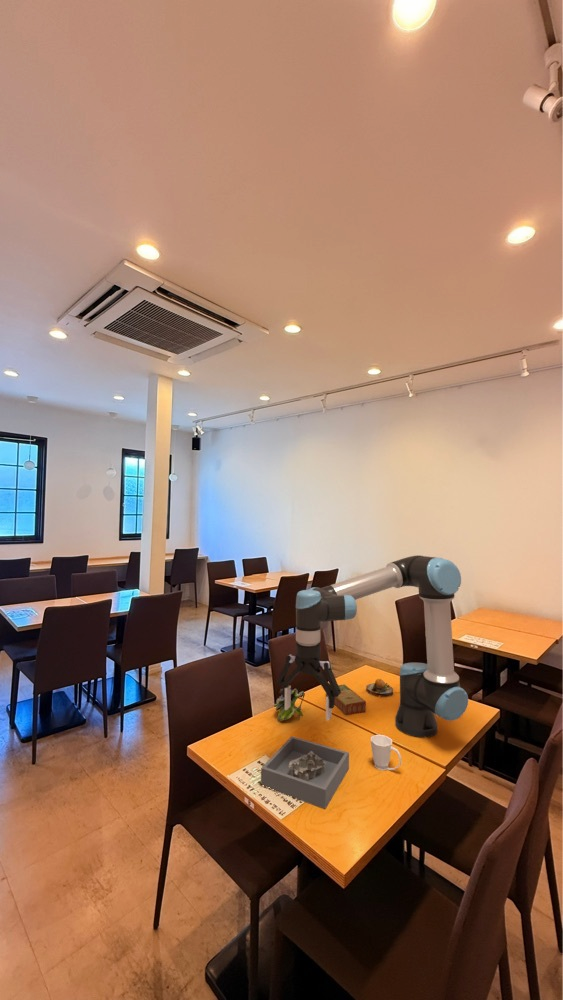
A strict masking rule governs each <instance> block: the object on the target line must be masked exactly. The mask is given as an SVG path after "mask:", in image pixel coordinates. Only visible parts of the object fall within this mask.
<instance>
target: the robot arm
mask: <svg viewBox="0 0 563 1000" xmlns="http://www.w3.org/2000/svg"><path fill="white" fill-rule="evenodd" d="M461 585H462V576H461V572H460V569H459V568H458V566H457V565H456V564H455V563H454V562H452V561H451V560H449V559H445V558H442V557H436V556H426V555H419V554H418V555H412V556H407V557H403V558H401V559H398V560H395V561H392V562H389V563H387V564H386V566H385V567H382V568H379V569H377V570H376V569H375V570H373V571H370V572H366V573H364V574H360V575H358V576H355V577H351V578H348V579H345V580H343V581H339V582H337V583H333V584H330V585H326V586H324V587H311V588H309V589H302V590H300V591H298V592H297V593H296V597H295V623H296V624H295V641H296V643H295V655H293V654H292V653H290V654H289V655H287V656H286V658H285V664H284V665H283V667H282V669H281V671H280V673H279V676H278V678H277V680H276V684H277V685H280V686H281V689H282V694H281V696H283V697H284V698H285V710H288V709H289V708H290V707H291V690H292V689H291V688H292V686H291V684H290V683H291V682H292V681H293V679H294V678H295V677H297V675H298V674H299V673H300V672H301V674H302V675H303V674H304V675H305V674H307V675H309V676H312V675H313V677H314V678H315V679H316V680H317V681H318V683H319V685H320V686H321V688H322V689H323V690H324V692H325V694H326V693H327V695H328V696H327V697H326V696H325V721H328V722H329V720H330V719H332V711H333V709H334V707H335V697H338V696H339V695H340V693H341V691H340V688H339V686H338V685H339V684H338V681H337V679H336V676H335V674H334V672H333V670H332V665H331V661H330V660H326V661H322V660H321V643H320V642H321V625H322V624H321V623H322V622H335V621H336V622H337V621H346V620H351V619H354V618H355V617H356V615H357V612H358V606H357V605H358V604H357V601H356V600H358V599H359V600H360V599H362V598H365V597H368V596H370V595H374V594H377V593H380V592H382V591H385V590H388V589H391V588H395V589H400V588H403V587H414V588H418V597H419V599H421V601H423V611H424V612H423V613H424V626H425V627H424V628H425V631H424V632H425V642H426V643H425V644H426V645H425V647H426V660H427V661H426V663H424V662H407V663H406V662H405V663H403V664H401V666H400V669H399V705H398V709H397V711H396V714H395V717H394V718H395V719H394V720H395V723H394V724H395V725H394V726H395V727H396V728H397V729H398V730H399V731H400V732H402V733H403V734H405V735H408V736H412V737H416V738H431V737H434V736H435V735H437V734H438V730H439V729H438V728H439V727H438V721H437V718H436V716H437V717H438V718H441V719H443V720H446V721H448V722H453V721H456V720H458V719H460V718H461V717H462V716H463V714H464V713H465V712H466V711H467V708H468V705H469V696H468V693H467V692H466V690H465V689H464V688H462V687H461V685H460V684H461V683H460V676H459V674H457V672H456V671H455V668H454V666H455V665H454V664H455V663H454V646H453V645H454V644H453V631H452V630H453V629H452V613H451V602H452V601H453V599H455V593H457V592H458V591H459V589H460V588H459V587H461ZM292 663H295V664H296V667H295V669H294V670H293V671H292V672H291V673H290V674H289V675H288V676H287V674H288V673H289V670H290V669H291V666H292ZM320 667H322V669H321V668H320ZM322 670H323V671H324V674H325V675H324V674H323V671H322ZM286 676H287V678H286ZM325 676H326V677H325ZM289 684H290V685H289Z"/></svg>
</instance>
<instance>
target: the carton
mask: <svg viewBox="0 0 563 1000" xmlns="http://www.w3.org/2000/svg"><path fill="white" fill-rule="evenodd" d="M338 686H339V688H340V691H341V693H340V695H339V696H338V697H335V705H334V707H336V708H337V709H338V710H339V711H340V713H342V714H343V715H344V716H345V717H346V716H352V715H358V714H363V713H365V714H366V712H367V702H366V700H365V699H363V698H362V697H361V696H359V694H357V693H356V692H355V691H353V690H352V689H351V688H350V687H349V686H347V685H346V684H338ZM327 696H328V695H327V693H326V692H325V698H326V697H327Z"/></svg>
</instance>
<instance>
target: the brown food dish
mask: <svg viewBox="0 0 563 1000" xmlns="http://www.w3.org/2000/svg"><path fill="white" fill-rule="evenodd" d="M365 691H366V692H367V694H369V695H373V696H374V697H380V698H388V697H392V696H393V695H394V689H393V687H392V686H391V685H390V684H388V682H385V681H384V679H381V678H377V679H376V680H375V681H374V682H373V683H369V684H367V685H366V690H365Z"/></svg>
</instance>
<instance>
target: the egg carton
mask: <svg viewBox="0 0 563 1000" xmlns="http://www.w3.org/2000/svg"><path fill="white" fill-rule="evenodd" d="M325 764H326V762H324V761H323V760H322V758H320V757H319V756H317V755H315V754H314V753H313V752H312V751H310V752H309V753H308V754H307V755H304V756H301V757H300V758H297V759H296V760H292V761H290V763H289V767H291V776H293V777H297V778H299V779H302V780H305V781H308V780H309V778H316V774H323V773H324V771H323V768H324V766H325Z"/></svg>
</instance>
